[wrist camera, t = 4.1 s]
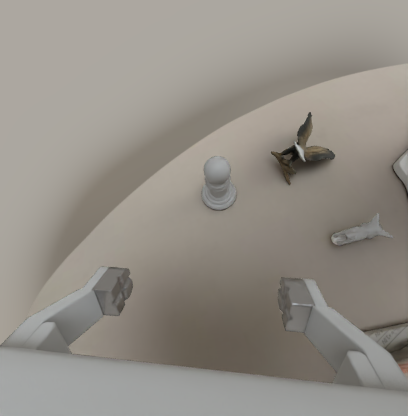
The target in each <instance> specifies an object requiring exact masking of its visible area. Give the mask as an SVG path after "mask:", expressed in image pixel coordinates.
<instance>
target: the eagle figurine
mask: <svg viewBox="0 0 408 416" xmlns="http://www.w3.org/2000/svg"><path fill="white" fill-rule="evenodd" d="M311 116H312V115H311V112H309V114H308V117H307V119H306V121H305V123H304V125H302V126H300V128H299V131H298V134H297V136H298V142H297V143H296V142H295V141H294V145H293V146H292V147H289V148H288V149H286V150H284V151H283V152H282V153H278V152H271V154H272V155H274V156H275V157H276V158H277V160H278V161H279V163H280V165H281V167H282V169H283V172H284V175H285V178H286V181H287V182H288V184H289V185H290V184H291V183H290V180H289V175H288V173H289V174H291V175H293V174H296V172H295V171H294V170H293V168H292V167H291V165H292V162H294V161H295V160H296V159H298V158H301V159H302V160H303V161H304V162H305V159H304V157H305V158H306V159H308V160H313V161H316V160H317V161H318V160H320V159H322V158H325V159H326V158H328V159H331V160H332V159H334V157H335V154H334V153H333V152H332V151H329V149H325V148H323V147H320V146H311V147H306V142H307V140H308V138H309V136H310V134H311V132H312V128H313V126H312V120H311ZM289 153H290V154H291V155H292V157H291V159H290V160H286V159H284V156H283V155H287V154H289Z"/></svg>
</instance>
